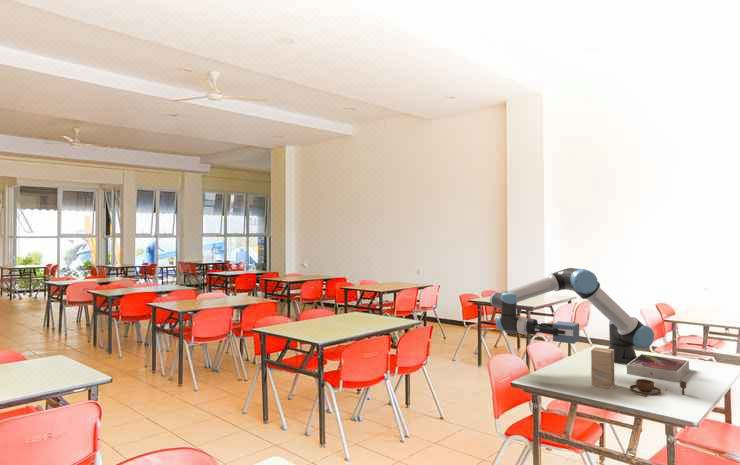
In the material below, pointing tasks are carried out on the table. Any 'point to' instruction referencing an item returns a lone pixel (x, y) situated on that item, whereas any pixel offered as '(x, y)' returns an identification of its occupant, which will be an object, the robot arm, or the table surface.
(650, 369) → the product packaging
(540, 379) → the table surface
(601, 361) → the box
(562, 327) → the blue cube
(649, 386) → the place setting
